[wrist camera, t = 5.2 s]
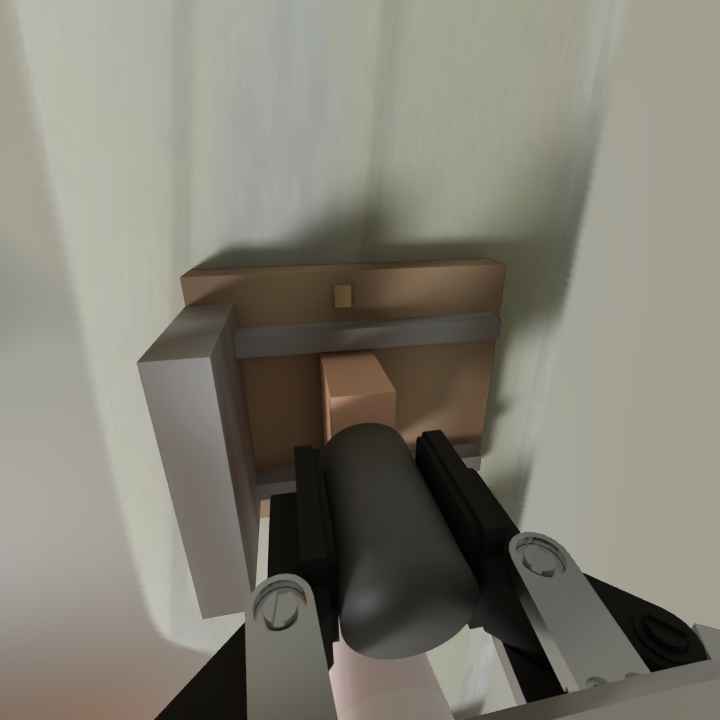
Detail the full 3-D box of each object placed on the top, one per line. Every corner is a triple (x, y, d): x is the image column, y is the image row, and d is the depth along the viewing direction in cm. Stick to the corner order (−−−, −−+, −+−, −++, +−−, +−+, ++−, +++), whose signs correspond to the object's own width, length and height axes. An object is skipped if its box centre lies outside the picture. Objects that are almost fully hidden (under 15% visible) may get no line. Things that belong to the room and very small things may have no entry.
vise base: (487, 258, 16) (604, 293, 10) (462, 467, 21) (534, 575, 15) (189, 269, 14) (125, 320, 8) (230, 499, 19) (207, 638, 13)
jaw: (383, 348, 15) (493, 510, 7) (381, 453, 17) (466, 669, 9) (306, 353, 14) (336, 535, 7) (313, 461, 16) (343, 698, 9)
